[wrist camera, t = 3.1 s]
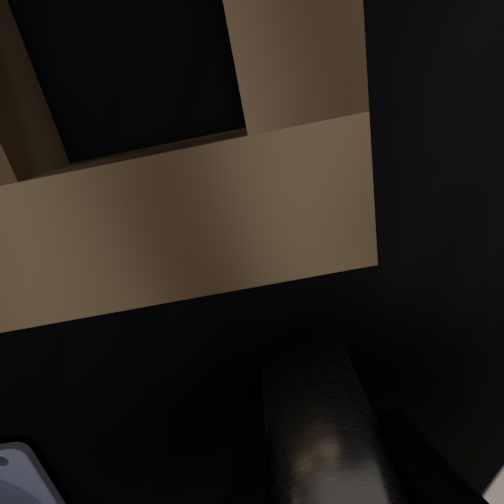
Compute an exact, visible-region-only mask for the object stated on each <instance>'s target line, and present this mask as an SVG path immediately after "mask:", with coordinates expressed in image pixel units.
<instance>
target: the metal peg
mask: <svg viewBox="0 0 504 504" xmlns="http://www.w3.org/2000/svg"><path fill="white" fill-rule="evenodd" d="M261 371H262V386H263V400H264V415H265V429H266V443H267V455H268V470H269V484H270V501H271V504H410V502H409V500H408V498H407V495H406V493H405V490H404V488H403V486H402V483H401V481H400V478H399V476H398V474H397V471H396V469H395V466H394V464H393V461H392V459H391V457H390V454H389V452H388V449H387V447H386V445H385V442H384V440H383V437H382V435H381V433H380V430H379V428H378V425H377V423H376V421H375V418H374V416H373V413H372V411H371V408H370V406H369V404H368V401H367V399H366V396H365V394H364V392H363V389H362V387H361V384H360V382H359V380H358V377H357V375H356V372H355V370H354V368H353V365H352V363H351V360H350V358H349V355H348V353H347V351H346V349H345V347H344V346H343V345H342V344H341V343H340V342H339V341H338V340H337V339H335V338H334V337H332V336H330V335H328V334H325V333H322V332H318V331H300V332H295V333H292V334H289V335H287V336H284V337H282V338H281V339H279V340H278V341H276V342H275V343H274V344H273V345H272V346H271V347H270V348H269V349H268V351H267V352H266V354H265V356H264V358H263V361H262V367H261Z"/></svg>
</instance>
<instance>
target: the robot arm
mask: <svg viewBox="0 0 504 504" xmlns="http://www.w3.org/2000/svg"><path fill="white" fill-rule="evenodd" d="M379 425H380V433H381V435H382V437H383V440H384V442H385V445H386V447H387V449H388V452H389V454H390V457H391V459H392V461H393V464H394V466H395V469H396V471H397V474H398V476H399V478H400V481H401V483H402V486H403V488H404V490H405V493H406V495H407V498H408V500H409V502H410V504H489V503H488V502H487V501H486V500H485V499H484V498H483V497H482V496H481V495H480V494H479V493H478V492H477V491H476V490H475V489H474V488H473V487H472V486H471V485H470V484H469V483H468V482H467V481H466V480H465V479H464V478H463V477H462V475H461V474H460V473H459V472H458V471H457V470H456V469H455V468H454V467H453V466H452V465H451V464H450V463H449V462H448V461H447V460H446V459H445V458H444V456H443V455H442V454H441V453H440V452H439V451H438V450H437V449H436V448H435V446H434V445H433V444H432V443H431V442H430V441H429V440H428V439H427V437H426V436H425V435H424V434H423V433H422V432H421V430H420V429H419V428H418V427H417V426H416V424H415V423H414V422H413V421H412V420H411V418H410V417H409V416H408V415H407V413H406V412H405V411H403V410H402V409H398V410H392V411H386V412H379ZM0 504H65V502H64V500H63V499H62V497H61V496H60V494H59V492H58V491H57V489H56V488H55V486H54V484H53V483H52V481H51V480H50V478H49V476H48V475H47V473H46V472H45V470H44V468H43V467H42V465H41V464H40V462H39V460H38V459H37V457H36V455H35V454H34V452H33V451H32V449H31V448H30V447H29V446H28V445H27V444H25V443H23V442H10V443H4V444H0ZM222 504H271V501H270V484H269V470H268V455H267V447H266V443H265V439H264V435H263V431H259V432H253V433H247V434H241V435H240V436H239V437H238V441H237V447H236V452H235V456H234V461H233V465H232V469H231V473H230V477H229V480H228V484H227V488H226V491H225V494H224V498H223V501H222Z"/></svg>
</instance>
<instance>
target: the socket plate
mask: <svg viewBox="0 0 504 504" xmlns="http://www.w3.org/2000/svg"><path fill="white" fill-rule="evenodd" d="M223 5H224V10H225V15H226V21H227V26H228V31H229V37H230V42H231V48H232V53H233V58H234V64H235V69H236V74H237V80H238V85H239V91H240V96H241V101H242V107H243V112H244V117H245V123H246V128H242V129H237V130H232V131H227V132H222V133H217V134H212V135H207V136H202V137H197V138H192V139H187V140H183V141H178V142H173V143H168V144H163V145H158V146H153V147H148V148H143V149H138V150H133V151H129V152H124V153H119V154H114V155H109V156H104V157H99V158H94V159H89V160H84V161H79V162H74V163H70V162H69V159H68V156H67V154H66V151H65V149H64V146H63V143H62V141H61V138H60V136H59V133H58V130H57V128H56V125H55V123H54V120H53V118H52V115H51V112H50V110H49V107H48V105H47V102H46V99H45V97H44V94H43V92H42V89H41V86H40V84H39V81H38V79H37V76H36V74H35V71H34V68H33V66H32V63H31V61H30V58H29V55H28V53H27V50H26V48H25V45H24V42H23V40H22V37H21V35H20V32H19V30H18V27H17V24H16V22H15V19H14V17H13V14H12V11H11V9H10V6H9V4H8V1H7V0H0V333H1V332H7V331H13V330H18V329H24V328H29V327H35V326H40V325H46V324H51V323H57V322H63V321H68V320H74V319H79V318H85V317H90V316H96V315H102V314H107V313H113V312H118V311H124V310H129V309H135V308H140V307H146V306H152V305H157V304H163V303H168V302H174V301H179V300H185V299H191V298H196V297H202V296H207V295H213V294H218V293H224V292H229V291H235V290H241V289H246V288H252V287H257V286H263V285H268V284H274V283H280V282H285V281H291V280H296V279H302V278H307V277H313V276H318V275H324V274H330V273H335V272H341V271H346V270H352V269H357V268H363V267H368V266H374V265H378V260H377V243H376V225H375V207H374V189H373V172H372V154H371V136H370V118H369V101H368V83H367V65H366V47H365V30H364V12H363V0H223Z"/></svg>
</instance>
